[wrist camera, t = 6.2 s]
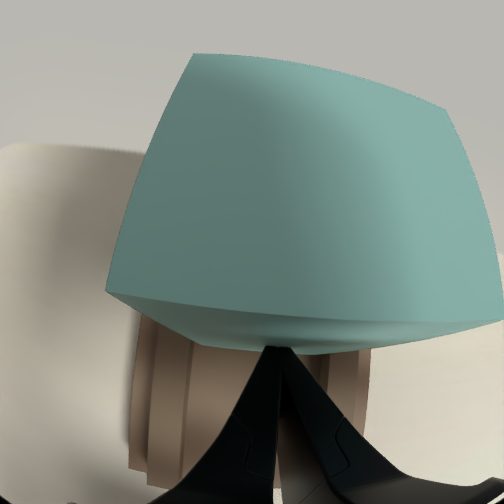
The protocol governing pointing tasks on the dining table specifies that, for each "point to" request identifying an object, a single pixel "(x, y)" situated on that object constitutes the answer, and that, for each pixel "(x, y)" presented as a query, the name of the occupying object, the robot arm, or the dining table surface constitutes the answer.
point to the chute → (212, 397)
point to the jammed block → (304, 214)
